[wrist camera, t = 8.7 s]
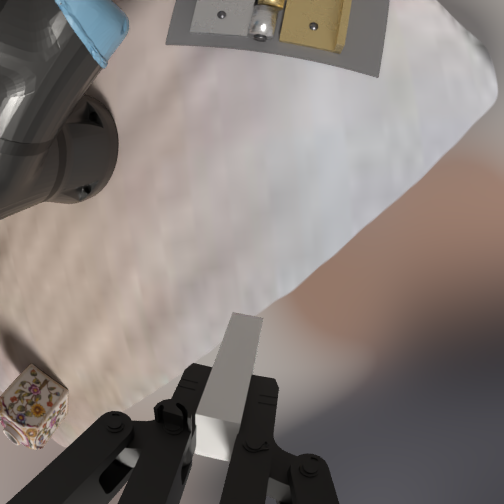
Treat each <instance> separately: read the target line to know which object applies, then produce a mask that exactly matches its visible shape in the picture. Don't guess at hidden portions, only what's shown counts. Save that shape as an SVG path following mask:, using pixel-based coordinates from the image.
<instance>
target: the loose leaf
mask: <svg viewBox="0 0 504 504" xmlns="http://www.w3.org/2000/svg"><path fill="white" fill-rule="evenodd" d="M284 2H285V0H259V1H258V5H267V6H271V7H274V8H276V9H278V11H280V10H282V9H283V6H284ZM351 2H352V0H287V4H286V9H285V14H284V19H283V24H282V28H281V33H280V38H279V42H282V43H288V44H294V45H300V46H305V47H310V48H315V49H319V50H324V51H328V52H333V53H337V54H340V53H341V51H342V49H343V47H344V45H345V40H346V34H347V28H348V22H349V15H350V9H351Z"/></svg>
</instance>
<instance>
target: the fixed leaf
mask: <svg viewBox="0 0 504 504" xmlns="http://www.w3.org/2000/svg"><path fill="white" fill-rule="evenodd" d="M255 4H256V0H197V3H196V7H195V11H194V15H193V19H192V23H191V28H190V33H191V34H208V35H223V36H235V37H244V38H248V36H251V37H253V39H254V40H256V41H260V42H266V40H271V39H273V37H274V32H275V28H276V23H277V18H278V13H279V11H278V9H276V8H274V7H271V6H267V5H256V6H255Z"/></svg>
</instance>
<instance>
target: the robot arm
mask: <svg viewBox="0 0 504 504" xmlns="http://www.w3.org/2000/svg"><path fill="white" fill-rule="evenodd" d="M128 30H129V20H128V18H127V16H126V14H125V13H124V12H123V11H122V10H121V9H120V8H119V7H118V6H117V5H116V4H115V3H114V2H113V1H112V0H0V220H1V219H3V218H6V217H8V216H10V215H13V214H15V213H17V212H20V211H22V210H25V209H27V208H30V207H32V206H34V205H37V204H39V203H42V202H54V203H64V204H73V203H79V202H82V201H84V200H87V199H89V198H91V197H93V196H95V195H96V194H98V193H99V192H100V191H101V190H102V189H103V188H104V187H105V186H106V184H107V183H108V181H109V180H110V178H111V176H112V174H113V171H114V168H115V165H116V161H117V155H118V137H117V131H116V127H115V124H114V121H113V119H112V117H111V115H110V113H109V112H108V110H107V109H106V107H105V106H104V105H103V104H102V103H100V102H99V101H98V100H96V99H94V98H92V97H89V96H84V95H83V94H84V93H85V92H86V90H87V89H88V87H89V86H90V85H91V83H92V82H93V81H94V79H95V78H96V77H97V75H98V74H99V73H100V71H101V70H102V69H103V68H105V67H106V66H107V64H108V60H109V58H110V57H111V56H112V54H113V53H114V52H115V50H116V49H117V48H118V46H119V45H120V44H121V42H122V41H123V40H124V38H125V37H126V35H127V33H128ZM262 322H263V318H261V317H255V316H250V315H245V314H239V313H234V312H233V313H232V316H231V319H230V321H229V324H228V327H227V329H226V332H225V335H224V338H223V340H222V343H221V346H220V349H219V351H218V354H217V357H216V359H215V362H214V365H213V367H208V366H204V365H200V364H195V363H193V364H191V365H190V366H189V367H188V368H186V369H185V371H184V373H183V375H182V377H181V380H180V382H179V384H178V386H177V388H176V390H175V392H174V394H173V397H172V399H168V400H163V401H161V402H159V403H157V405H156V406H155V407H154V413H155V420H152V421H131V419H130V417H129V416H127V415H126V414H124V413H122V412H119V411H111V412H107V413H105V414H103V415H102V416H101V417H100V418H98V419H97V420H96V421H95V422H94V423H93V424H92V425H91V426H90V427H89V428H88V429H87V430H86V431H85V432H84V433H82V434H81V435H80V436H79V437H78V438H77V439H76V440H75V441H74V442H73V443H72V444H71V445H70V446H68V447H67V448H66V449H65V450H64V451H63V452H62V453H61V454H60V455H59V456H58V457H57V458H56V459H55V460H53V461H52V462H51V463H50V464H49V465H48V466H47V467H46V468H45V469H44V470H43V471H42V472H40V473H39V475H37V476H36V477H35V478H34V479H33V480H32V481H31V482H30V483H28V484H27V485H26V486H25V487H24V488H23V489H22V490H21V491H20V492H18V493H17V494H16V495H15V496H14V497H13V498H12V499H11V500H10V501H8V502H7V503H6V504H108V503H109V502H110V501H111V500H112V498H113V497H114V496H115V495H116V494H117V493H118V492H119V491H120V489H121V488H122V487H123V486H124V485H125V483H126V482H127V481H128V482H127V484H126V487H125V489H124V491H123V493H122V495H121V497H120V500H119V502H118V504H179V503H180V500H181V497H182V494H183V491H184V488H185V485H186V481H187V479H188V476H189V473H190V470H191V466H192V457H193V454H194V451H195V454H198V455H203V456H207V457H211V458H216V459H221V460H225V461H230V464H229V468H228V472H227V476H226V480H225V484H224V488H223V492H222V496H221V500H220V504H265V500H266V496H269V497H271V498H273V499H276V502H277V504H339V501H338V498H337V495H336V491H335V488H334V484H333V481H332V478H331V474H330V471H329V468H328V465H327V464H326V462H325V460H323V459H322V458H320V456H317V455H314V454H302V455H299V456H295V455H292V454H290V453H288V452H286V451H284V450H282V449H281V448H280V447H279V446H278V445H277V444H276V443H275V440H274V438H273V432H274V424H275V415H276V408H277V399H278V391H279V387H278V385H277V382H276V380H275V379H274V378H268V377H262V376H256V375H253V370H254V365H255V361H256V355H257V350H258V344H259V339H260V333H261V327H262Z"/></svg>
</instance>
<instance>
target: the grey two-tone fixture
mask: <svg viewBox="0 0 504 504" xmlns="http://www.w3.org/2000/svg"><path fill="white" fill-rule="evenodd" d="M258 1H259V0H256V4H255V6H256V5H258ZM196 3H197V0H176V3H175V7H174V11H173V15H172V19H171V23H170V27H169V31H168V35H167V40H166V45H187V46H206V47H220V48H231V49H240V50H249V51H257V52H264V53H271V54H277V55H283V56H289V57H294V58H300V59H305V60H310V61H314V62H319V63H324V64H328V65H332V66H336V67H340V68H344V69H348V70H352V71H356V72H359V73H363V74H366V75H370V76H373V77H376V78H378V77H379V71H380V65H381V59H382V53H383V46H384V39H385V32H386V25H387V17H388V8H389V0H352V2H351V9H350V15H349V22H348V28H347V34H346V40H345V45H344V47H343V49H342V51H341V53H340V54H337V53H333V52H328V51H324V50H319V49H315V48H310V47H305V46H300V45H294V44H288V43H282V42H279V38H280V33H281V28H282V24H283V19H284V14H285V9H286V4H287V0H285V2H284V6H283V9H282V10H280V11H279V13H278V18H277V23H276V28H275V32H274V37H273V39H271V40H266V42H260V41H256V40H254V39H253V37H251V36H248V38H244V37H235V36H223V35H208V34H191V33H190V28H191V23H192V19H193V15H194V11H195V7H196Z"/></svg>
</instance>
